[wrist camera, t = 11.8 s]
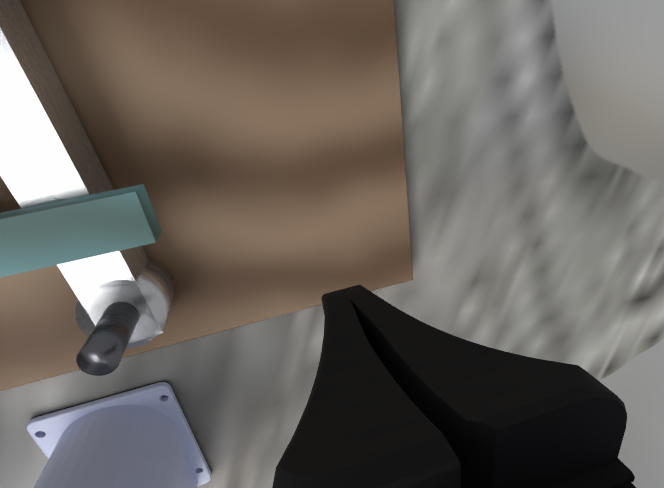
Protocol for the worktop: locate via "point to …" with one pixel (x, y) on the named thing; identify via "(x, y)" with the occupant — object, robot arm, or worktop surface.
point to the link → (66, 183)
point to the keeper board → (214, 165)
